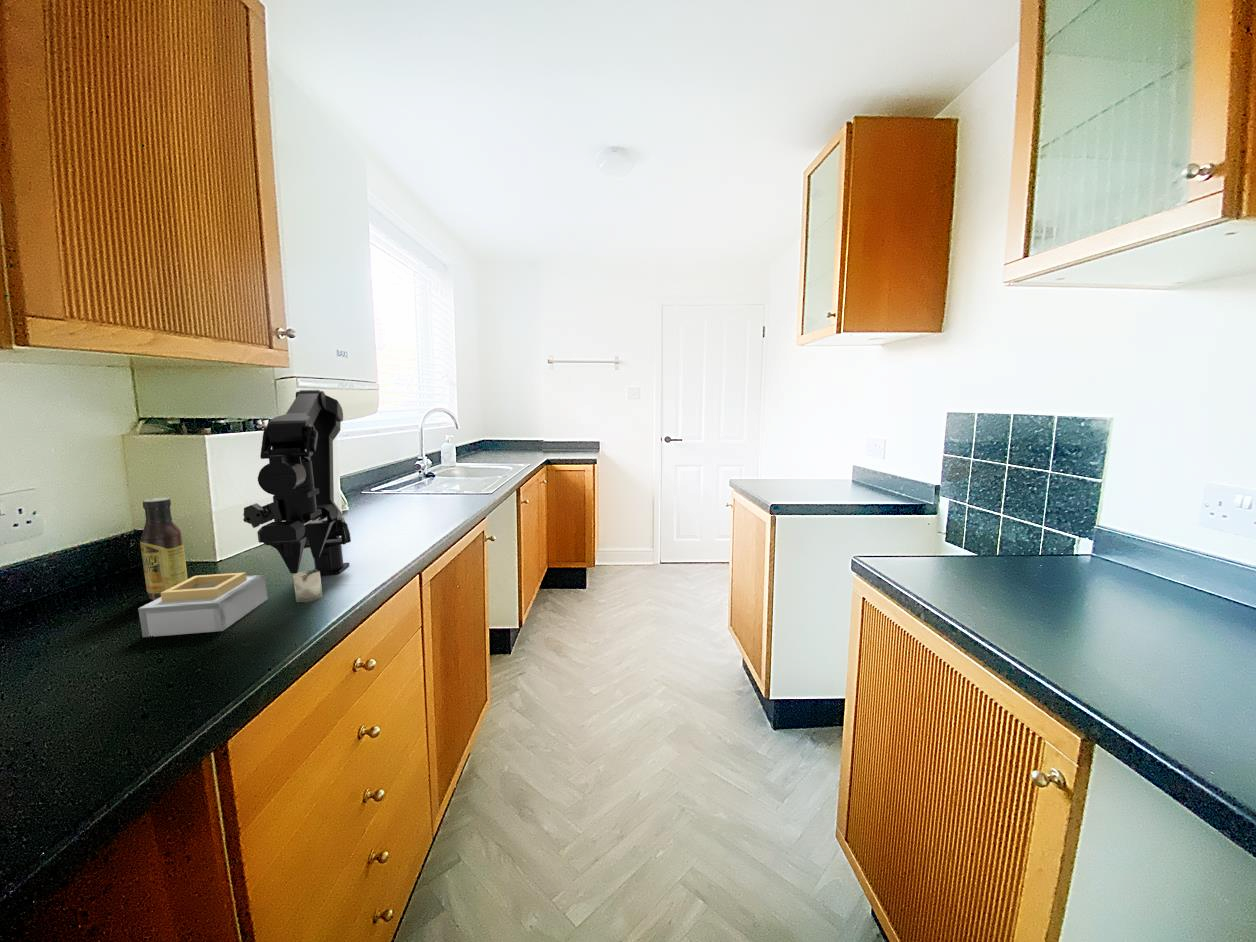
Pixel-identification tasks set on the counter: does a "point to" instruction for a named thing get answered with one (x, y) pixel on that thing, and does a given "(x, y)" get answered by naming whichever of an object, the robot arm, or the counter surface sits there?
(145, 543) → the sauce bottle
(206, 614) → the square frame box
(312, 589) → the silver metal can
